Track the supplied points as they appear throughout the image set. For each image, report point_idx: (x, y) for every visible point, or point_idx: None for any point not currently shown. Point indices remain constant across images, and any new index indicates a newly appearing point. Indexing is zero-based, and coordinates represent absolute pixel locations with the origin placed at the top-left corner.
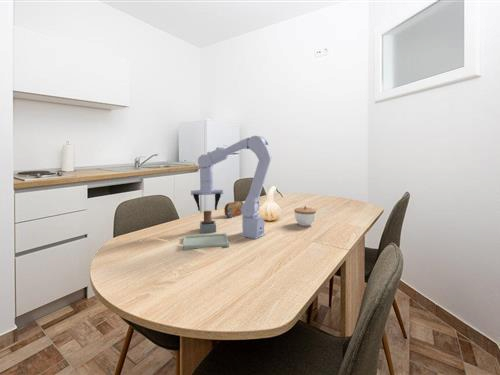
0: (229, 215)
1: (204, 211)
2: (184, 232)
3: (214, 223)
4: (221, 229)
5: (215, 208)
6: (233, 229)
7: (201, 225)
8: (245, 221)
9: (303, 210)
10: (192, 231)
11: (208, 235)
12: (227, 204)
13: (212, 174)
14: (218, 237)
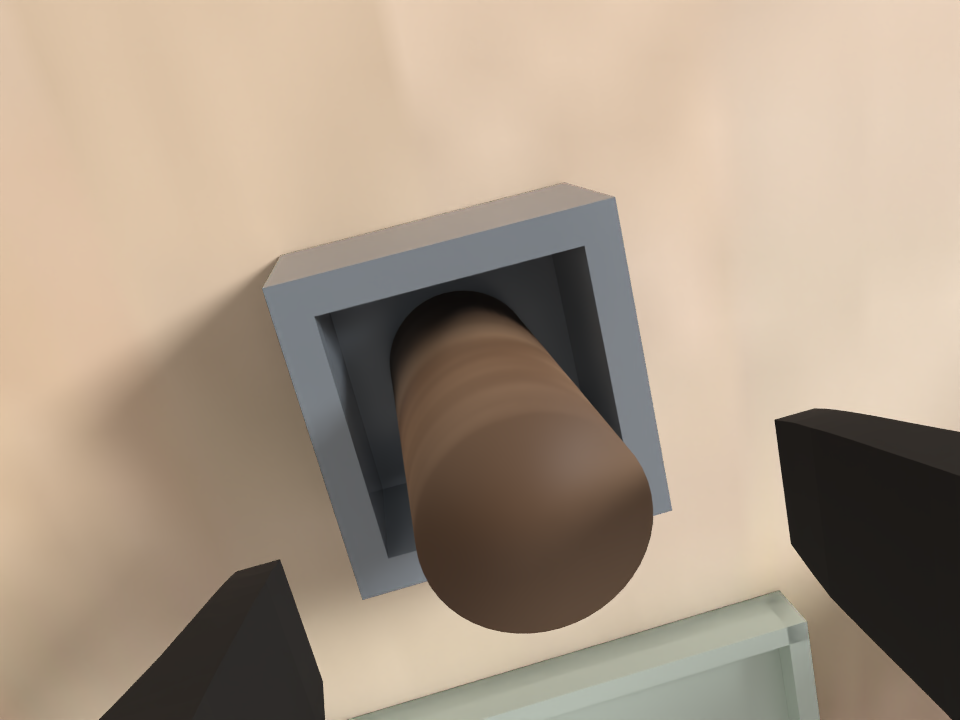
0: None
1: (440, 530)
2: (30, 445)
3: (634, 445)
4: (683, 206)
5: (833, 582)
6: (892, 193)
7: (391, 589)
8: None
9: None
10: (163, 372)
11: (548, 710)
12: None
13: None
14: (692, 710)
